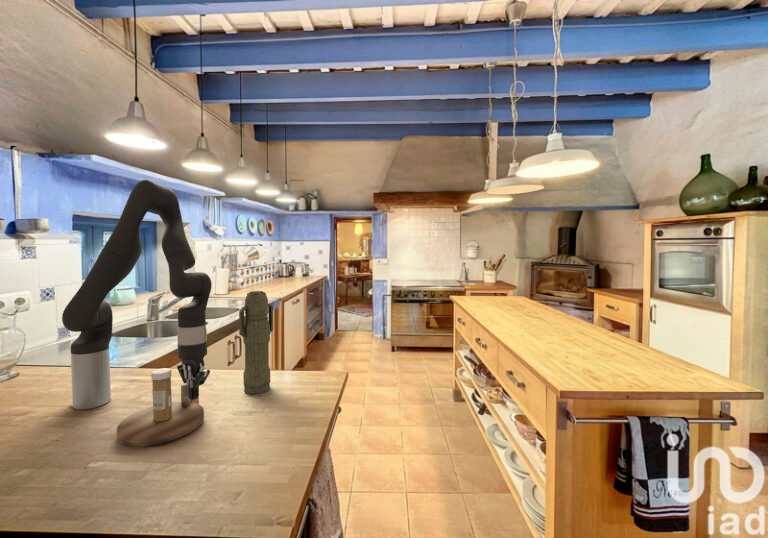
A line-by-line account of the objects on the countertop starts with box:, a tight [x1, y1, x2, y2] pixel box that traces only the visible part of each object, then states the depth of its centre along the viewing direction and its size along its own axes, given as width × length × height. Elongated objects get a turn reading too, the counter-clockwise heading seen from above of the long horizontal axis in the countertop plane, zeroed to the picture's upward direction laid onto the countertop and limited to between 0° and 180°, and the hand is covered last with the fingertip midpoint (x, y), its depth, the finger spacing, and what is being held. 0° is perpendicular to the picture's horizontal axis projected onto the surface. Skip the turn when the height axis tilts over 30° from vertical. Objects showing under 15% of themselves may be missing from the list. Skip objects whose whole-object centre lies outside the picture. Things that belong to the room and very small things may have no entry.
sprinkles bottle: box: [151, 367, 173, 422], centre depth 93 cm, size 5×5×14 cm
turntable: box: [116, 383, 205, 447], centre depth 93 cm, size 20×20×8 cm
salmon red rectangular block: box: [190, 396, 200, 405], centre depth 105 cm, size 3×1×4 cm, turn 171°
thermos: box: [238, 290, 274, 396], centre depth 119 cm, size 9×12×35 cm
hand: (193, 398), depth 100 cm, fingers closed
